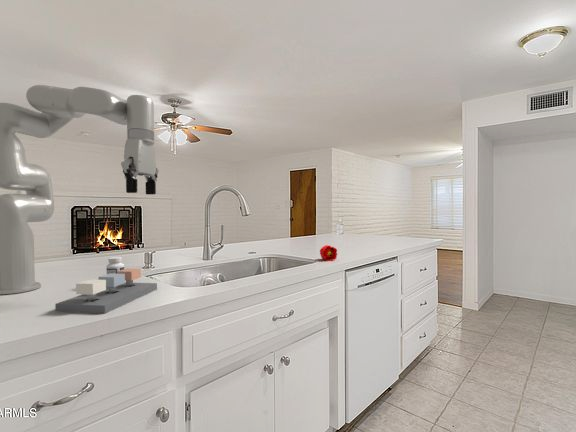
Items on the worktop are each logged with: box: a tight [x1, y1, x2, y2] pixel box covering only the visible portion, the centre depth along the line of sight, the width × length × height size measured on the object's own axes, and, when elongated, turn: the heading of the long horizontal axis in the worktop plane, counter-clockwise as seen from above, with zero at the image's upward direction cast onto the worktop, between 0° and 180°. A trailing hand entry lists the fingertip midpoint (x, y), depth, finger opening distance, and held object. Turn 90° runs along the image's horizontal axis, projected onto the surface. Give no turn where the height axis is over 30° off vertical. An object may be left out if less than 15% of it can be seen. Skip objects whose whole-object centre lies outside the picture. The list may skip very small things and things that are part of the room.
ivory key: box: [75, 279, 106, 301], centre depth 83 cm, size 5×5×5 cm
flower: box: [319, 244, 338, 262], centre depth 160 cm, size 8×8×8 cm
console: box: [54, 281, 158, 314], centre depth 91 cm, size 14×24×2 cm, turn 172°
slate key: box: [98, 273, 126, 292], centre depth 91 cm, size 5×5×5 cm
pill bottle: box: [106, 256, 125, 275], centre depth 108 cm, size 5×5×10 cm
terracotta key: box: [117, 268, 142, 286], centre depth 99 cm, size 5×5×5 cm
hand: (141, 193), depth 96 cm, fingers open, 9 cm apart
